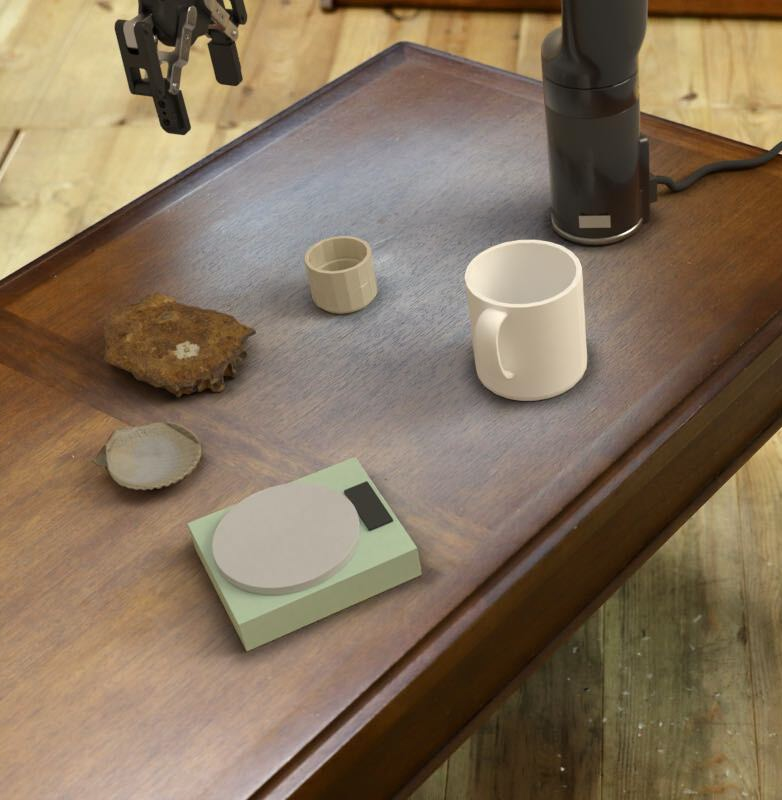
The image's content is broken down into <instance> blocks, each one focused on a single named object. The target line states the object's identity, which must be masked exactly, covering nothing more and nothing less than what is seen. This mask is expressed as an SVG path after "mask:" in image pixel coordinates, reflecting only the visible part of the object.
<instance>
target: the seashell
mask: <svg viewBox="0 0 782 800" xmlns="http://www.w3.org/2000/svg"><path fill="white" fill-rule="evenodd" d="M202 452H203V447H202V442H201V440H200V438H199V437H198V435H197V434H196V433H195V432H194V431H192V430H191V429H189V427H187V426H185V425H182V424H180V423H177V422H164V421H163V422H161V421H160V422H159V421H158V422H152V423H147V424H144V425H140V426H132V427H127V428H119V429H114V430H113V431H112V432H111V433H110V435H109V437H107V440H106V442H105V444H104V445H103V446H102V448H100V450H99V451H97V453H96V455H95V456H94V457H93V459H92V462H93V463H94V464H95V465H96V466H99V467H104V469H106V471H108V473H109V475H110V476H111V478H112V480H113V481H114V483H116V484H118V485H119V486H120V487H124V488H126V489H129V490H134V491H143V492H145V491H154V490H160V489H161V490H162V489H163V488H168V487H170V486H171V485H177V483H178V482H179V481H184V480H185V479H186V477H187V476H190V475H191V474H192V471H194V470H195V469H197V465H198V464H200V463H201V458H202V457H203V453H202Z"/></svg>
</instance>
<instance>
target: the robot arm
mask: <svg viewBox="0 0 782 800" xmlns="http://www.w3.org/2000/svg"><path fill="white" fill-rule="evenodd" d="M228 1H229V2H230V6H231V8H226V5H225V1H224V0H137V4H138V5H137V7H138V9H137V15H136V16H135V17H133V18H132V19H130V20H129V19H121V18H119V19H117V20H116V21H115V22H114V33H115V36H116V37H115V38H116V42H117V44H118V49H119V53H120V57H121V61H122V66H123V70H124V73H125V74H124V75H125V77H126V81H127V85H128V89H129V92H130V94H131V95H135V96H142V97H151V98H152V101H153V104H154V108H155V111H156V114H157V118H158V122H159V125H160V127H161V129H162V130H163V131H165V133H167V134H171V135H179V136H185V135H187V134H188V133H189V132H190V131H191V129H192V126H191V122H190V117H189V114H188V110H187V106H186V103H185V98H184V96H183V90H181V89H180V87H181V79H182V71H183V68H184V67H185V66H186V65H187V64H188V63H189V60H190V51H191V47H192V46H193V45H194V44H195V43H196V41H197V39H198V38H200V37H204V36H205V37H206V38H207V39H210V40H209V41H208V42H207V43H206V45H207V48H208V53H209V57H210V60H211V64H212V65H211V66H212V70H213V73H214V78H215V80H216V82H217V83H218V84H219V85H222V86H229V87H230V86H231V87H238V86H239V85H240V84H242V82H243V81H244V80H243V73H242V65H241V61H240V56H239V52H238V48H237V47H238V46H237V43H236V41H237V40H238V38H239V29H238V28H239V27H240V25H241V26H245V25H246V24H247V22H248V12H247V8H246V5H245V2H244V0H228ZM560 5H561V6H560V7H561V10H560V11H561V25H560V26H558V27H555V28H554V29H551V30H550V31H549V32H548V33H547V34H546V35H545V36H544V38H543V40H542V42H541V45H540V63H541V78H542V91H543V105H544V118H545V119H544V120H545V129H546V130H545V132H546V147H547V159H548V161H547V162H548V173H549V189H550V202H551V203H550V209H551V214H550V215H551V216H550V217H551V226H552V228H553V230H554V231H555V233H556V234H557V235H559V236H560V237H562V239H565V240H567V241H570V242H572V243H575V244H580V245H588V246H600V245H601V246H603V245H610V244H614V243H618V242H621V241H623V240H626V239H628V238H630V237H631V236H633V235H635V233H637V232H638V231H639V230H640V228H641V227H642V225H643V224H644V223H647V222H649V221H650V220H651V204H654V203H656V202H658V185H664V186H666V187H667V189H669V190H670V191H672V192H681V191H684V190H687V188H690V187H691V185H693V184H694V183H696V182H697V181H698V180H700V179H701V178H702V177H704V176H705V175H707V174H710V173H714V172H718V171H723V170H733V169H735V170H736V169H737V170H738V169H747V168H748V169H749V168H753V167H758V166H761V165H764V164H766V163H767V162H769V161H771V160H772V159H774V158H775V157H776V156H777V155H779V154H780V153H781V152H782V140H781V141H779V142H778V143H777V144H775V145H774V146H773V147H772V148H771V149H769V150H768V151H767V152H766V153H764V154H762V155H759V156H756V157H753V158H752V157H751V158H747V159H746V158H745V159H733V160H721V161H715V162H711V163H708V164H705V165H703V166H701V167H699V168H698V169H696V170H694V171H693V172H692V173H691V174H690V175H689V176H687V177H686V178H685V179H684V180H681V181H679V182H678V181H677V182H675V181H674V180H673V179H672V178H671V177H669V176H667V175H658V174H657V175H655V174H654V173H652V172H651V171H650V139H649V138H648V136H647V135H646V134H645V133H643V132H642V131H641V107H640V106H641V97H640V96H641V95H640V52H641V49H642V46H643V44H644V41H645V38H646V33H647V28H648V10H649V8H648V5H649V0H560ZM159 42H160V44H162V45H164V46H165V47H169V48H174V49H173V50H172V51H163V50H159V49H158V45H159ZM162 64H167V71H166V77H164V76H163V72H162V67H161V65H162ZM141 70H144V78H143V77H142V74H141V73H142V72H141ZM770 152H771V153H770ZM773 153H774V154H773Z"/></svg>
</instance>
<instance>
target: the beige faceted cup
mask: <svg viewBox="0 0 782 800" xmlns="http://www.w3.org/2000/svg"><path fill="white" fill-rule="evenodd" d="M304 265H305V270H306V274H307V275H306V276H307V279H308V284H309V289H310V293H311V298H312V301H313V303H314V304H315V305H316V306H317V307H318V308H320V309H323V310H324V311H326V312H328V313H331V314H339V315H341V314H351V313H355V312H357V311H360V310H362V309H364V308H365V307H367V306H368V305H370V303H371V302H373V301H374V299H375V297H376V296H377V295H378V281H377V277H376V270H375V265H374V258H373V253H372V247H371V245H369V243H368V242H367V241H366V240H364V239H361V238H359V237H356V236H350V235H340V236H338V235H337V236H331V237H327V238H325V239H322V240H319V241H317V242H316V243H314V244H312V245H311V246H310V247H309V248H308V249H307V251H306V252H305V253H304Z"/></svg>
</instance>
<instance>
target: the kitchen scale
mask: <svg viewBox="0 0 782 800" xmlns="http://www.w3.org/2000/svg"><path fill="white" fill-rule="evenodd" d="M186 524H187V529H188V531H189V534H190V537H191V540H192V543H193V547H194V549H195V552H196V554H197V556H198V557H199V559H200V562H201V564H202V566H203V567H204V570H205V571H206V573H207V576H208V577H209V579H210V582H211V584H212V585H213V587H214V589H215V591H216V593H217V596H218V597H219V600H220V601H221V603H222V605H223V607H224V609H225V611H226V613H227V615H228V617H229V619H230V621H231V623H232V626H233V627H234V629H235V632H236V633H237V635H238V638H239V639H240V641H241V643H242V646H243V647H244V649H245V651H246V652H249V651H251V650H253V649H257V648H259V647H261V646H263V645H265V644H268V643H269V642H272V641H274V640H277V639H279V638H281V637H283V636H286V635H288V634H290V633H293V632H295V631H297V630H300V629H302V628H304V627H306V626H308V625H311V624H313V623H315V622H317V621H320V620H323V619H325V618H326V617H327V618H328V617H329V616H331V615H334V614H336V613H338V612H340V611H343V610H345V609H347V608H350V607H352V606H354V605H356V604H359V603H361V602H363V601H365V600H367V599H370V598H372V597H375V596H377V595H379V594H381V593H384V592H386V591H389V590H391V589H393V588H395V587H397V586H400V585H402V584H404V583H407V582H408V581H411V580H413V579H416V578H418V577H420V576H422V574H423V573H422V567H421V561H420V556H419V551H418V547H417V545H416V543H415V542H414V541H413V539H412V538H411V536H410V535H409V533H408V532H407V530H406V529H405V528H404V526H403V524H402V523H401V522H400V520H399V519H398V517H397V516H396V514H395V512H394V511H393V510H392V508H391V507H390V505H389V504H388V502H387V501H386V500H385V498H384V497H383V495H382V493H381V491H379V489H378V488H377V486H376V485H375V484H374V482H373V481H372V479H371V478H370V476H369V474H368V472H366V470H365V469H364V467H363V466H362V464H361V463H360V461H359V460H358V458H357V457H356V456H353V457H351V458H349V459H345V460H343V461H340V462H338V463H335V464H333V465H330V466H328V467H325V468H323V469H320V470H319V471H316V472H313V473H310V474H307V475H305V476H303V477H300V478H297V479H295V480H292V481H290V482H288V483H282V484H277V485H274V486H273V485H272V486H270V487H267V488H264V489H261V490H258V491H256V492H254V493H252V494H250V495H248V496H247V497H245V498H244V499H242V500H240V501H239V502H237V503H234V504H232V505H230V506H226V507H225V508H222V509H220V510H217V511H215V512H211V513H210V514H207V515H205V516H202V517H199V518H197V519H193V520H192V521H189V522H187V523H186Z"/></svg>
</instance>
